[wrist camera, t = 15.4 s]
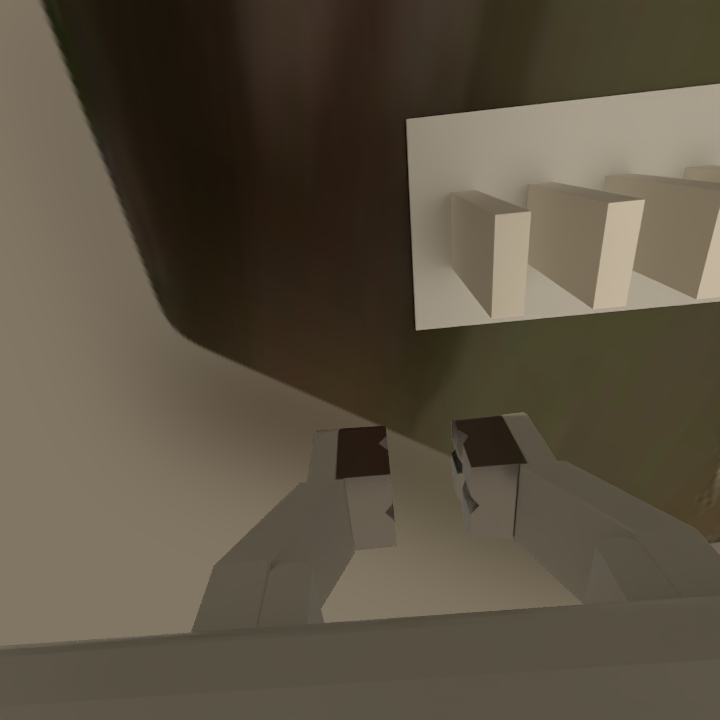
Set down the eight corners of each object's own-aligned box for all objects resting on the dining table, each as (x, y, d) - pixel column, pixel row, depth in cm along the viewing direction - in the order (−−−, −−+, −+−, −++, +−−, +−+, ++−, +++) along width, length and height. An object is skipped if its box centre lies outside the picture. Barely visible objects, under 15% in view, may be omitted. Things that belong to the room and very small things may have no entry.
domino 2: (523, 260, 30) (592, 309, 22) (528, 184, 28) (608, 203, 19) (546, 258, 30) (625, 306, 21) (553, 181, 28) (645, 199, 19)
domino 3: (595, 253, 30) (696, 299, 21) (606, 176, 28) (723, 191, 19) (618, 251, 30) (729, 296, 21) (631, 173, 28) (761, 186, 19)
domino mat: (415, 328, 33) (415, 330, 33) (405, 119, 27) (406, 119, 27) (808, 290, 32) (813, 292, 32) (892, 64, 26) (900, 63, 25)
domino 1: (451, 267, 31) (491, 319, 22) (451, 192, 28) (495, 214, 19) (474, 265, 31) (523, 316, 22) (475, 190, 28) (531, 211, 19)
